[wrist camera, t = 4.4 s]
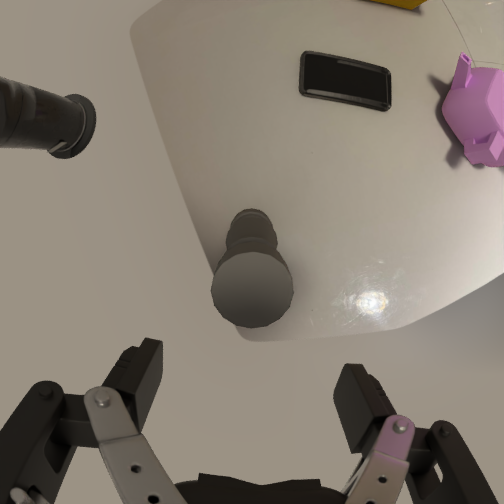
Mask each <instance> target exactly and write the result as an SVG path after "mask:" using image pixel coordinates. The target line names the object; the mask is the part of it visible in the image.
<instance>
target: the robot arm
mask: <svg viewBox="0 0 504 504" xmlns="http://www.w3.org/2000/svg"><path fill="white" fill-rule="evenodd" d="M86 124H87V115H86V111H85V108H84V107H83V105H82V104H81V103H79V102H77V101H74V100H70V99H67V98H65V97H61V96H59V95H56V94H53V93H50V92H47V91H44V90H41V89H38V88H35V87H32V86H28V85H25V84H22V83H19V82H15V81H12V80H9V79H6V78H3V77H0V148H24V149H42V150H49V151H48V152H50V153H52V152H54V151H61V152H63V151H68V150H70V149H72V148H73V147H74V146H75V145H76V144H77V143H78V142H79V141H80V139H81V138H82V136H83V134H84V132H85V129H86ZM162 372H163V342H162V341H160V340H155V339H150V338H145V339H144V340H143V342H142V344H141V345H140V347H134V346H132V347H130V348H128V349H127V350H125V351H124V352H123V353H122V354H121V356H120V358H119V360H118V361H117V362H116V364H115V366H114V367H113V368H112V370H111V371H110V373H109V375H108V376H107V378H106V379H105V381H104V383H103V384H102V386H100V387H94V388H92V389H90V390H88V391H87V392H86V394H85V395H74V394H64V392H63V389H62V387H61V386H60V385H59V384H57V383H55V382H52V381H41V382H38V383H36V384H34V385H33V386H32V387H31V389H30V390H29V391H28V393H27V394H26V395H25V397H24V398H23V400H22V401H21V402H20V404H19V405H18V406H17V408H16V409H15V411H14V412H13V414H12V415H11V416H10V418H9V419H8V421H7V422H6V423H5V425H4V427H3V428H2V429H1V431H0V504H54V502H55V499H56V497H57V494H58V492H59V489H60V487H61V484H62V482H63V479H64V477H65V474H66V472H67V469H68V467H69V465H70V462H71V460H72V458H73V455H74V453H75V451H76V448H77V446H80V447H91V448H99V451H100V453H101V456H102V458H103V461H104V463H105V465H106V468H107V470H108V472H109V475H110V477H111V479H112V481H113V483H114V485H115V488H116V490H117V492H118V494H119V496H120V498H121V500H122V502H123V504H395V503H396V501H397V498H398V496H399V493H400V491H401V488H402V485H403V483H404V480H405V481H406V484H407V486H408V490H409V492H410V495H411V498H412V501H413V504H498V502H497V500H496V498H495V496H494V494H493V492H492V490H491V488H490V486H489V485H488V482H487V481H486V479H485V477H484V475H483V473H482V471H481V470H480V468H479V466H478V464H477V462H476V461H475V459H474V457H473V455H472V454H471V452H470V451H469V448H468V447H467V445H466V444H465V442H464V440H463V438H462V437H461V435H460V433H459V432H458V430H457V429H456V427H455V426H454V425H453V424H451V423H450V422H447V421H443V420H439V421H436V422H434V424H433V425H432V426H431V428H430V429H425V428H416V427H415V426H414V423H413V422H412V421H411V420H410V419H409V418H407V417H405V416H402V415H397V413H396V411H395V409H394V408H393V406H392V404H391V403H390V400H389V399H388V397H387V396H386V393H385V392H384V390H383V388H382V386H381V385H380V383H379V381H378V380H377V379H376V378H374V377H373V376H372V375H370V374H368V373H367V372H366V370H365V368H364V366H363V365H362V364H348V363H347V364H345V365H344V367H343V369H342V372H341V374H340V377H339V379H338V382H337V384H336V387H335V390H334V394H333V396H334V397H333V399H334V404H335V406H336V409H337V412H338V415H339V418H340V421H341V424H342V427H343V430H344V432H345V436H346V439H347V442H348V445H349V448H350V451H351V453H352V454H353V453H362V458H361V459H360V461H359V462H358V464H357V466H356V468H355V469H354V471H353V473H352V475H351V476H350V478H349V480H348V482H347V483H346V485H345V487H344V488H343V489H342V491H341V492H339V491H337V490H334V489H331V488H327V487H322V486H321V484H320V479H307V480H288V481H283V482H278V483H273V484H267V485H257V484H253V483H250V482H246V481H242V480H239V479H235V478H232V477H226V476H217V475H210V474H203V473H199V477H198V480H193V481H186V482H180V483H176V484H173V482H172V481H171V479H170V478H169V476H168V475H167V473H166V472H165V470H164V468H163V467H162V465H161V464H160V462H159V460H158V459H157V457H156V455H155V454H154V452H153V450H152V449H151V447H150V445H149V443H148V442H147V440H146V438H145V437H144V435H143V434H142V433H141V431H142V429H143V426H144V423H145V421H146V418H147V415H148V413H149V410H150V408H151V405H152V403H153V400H154V397H155V395H156V392H157V389H158V387H159V385H160V382H161V378H162ZM437 463H438V465H439V467H440V469H441V471H442V474H443V479H442V482H440V480H439V478H438V475H437V473H436V471H435V469H434V466H435V465H436V464H437Z"/></svg>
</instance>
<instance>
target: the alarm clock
mask: <svg viewBox="0 0 504 504" xmlns="http://www.w3.org/2000/svg"><path fill="white" fill-rule="evenodd" d="M371 1H376V2H381V3H386V4H390V5H394V6H398V7H402V8H406V9H410V10H412V9H413V8H415V7H417V6H418V5H420V4H422V3H423V2H425V1H427V0H371Z"/></svg>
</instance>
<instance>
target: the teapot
mask: <svg viewBox="0 0 504 504" xmlns="http://www.w3.org/2000/svg"><path fill="white" fill-rule="evenodd" d="M471 61H472V60H471V59H470V58H469V57H468V56H467V55H466V54H465V53H464V52H463V51H462V52H461V54H460V56H459V60H458V64H457V67H456V71H455V75H454V79H453V82H452V86H451V88H450V90H449V92H448V94H447V96H446V98H445V100H444V103H443V105H442V113H443V116H444V118H445V120H446V122H447V123H448V124H449V126H450V127H451V129H452V130H453V132H454V133H455V135H456V136H457V138H458V139H459V140H460V142H461V143H462V144H463V145H464V154H465V156H466V157H467V158H468V160H469V161H470V163H471V164H479V163H482V164H484V165H486V166H488V167H500V166H504V72H503V71H502V70H500V69H495V68H486V67H478V68H471Z"/></svg>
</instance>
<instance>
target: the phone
mask: <svg viewBox="0 0 504 504" xmlns="http://www.w3.org/2000/svg"><path fill="white" fill-rule="evenodd" d="M299 91H300V93H301V94H302V95H304V96H308V97H315V98H321V99H327V100H333V101H338V102H344V103H349V104H354V105H358V106H363V107H367V108H372V109H376V110H380V111H387V110H389V109H390V108H391V73H390V71H389V70H388V69H387V68H384V67H381V66H377V65H374V64H370V63H366V62H362V61H358V60H354V59H350V58H345V57H340V56H336V55H331V54H325V53H320V52H314V51H305V52H303V53H302V55H301V58H300V78H299Z"/></svg>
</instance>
